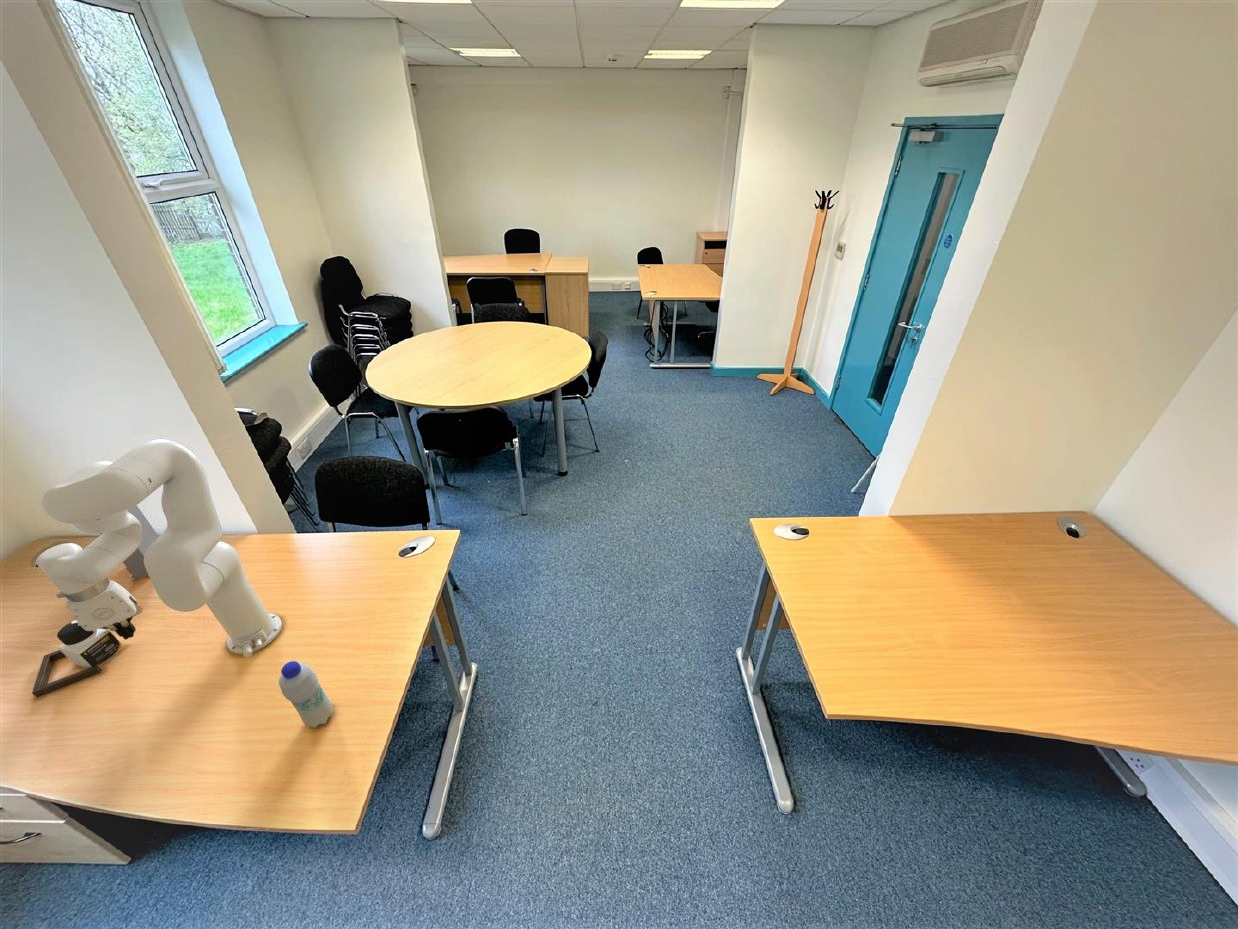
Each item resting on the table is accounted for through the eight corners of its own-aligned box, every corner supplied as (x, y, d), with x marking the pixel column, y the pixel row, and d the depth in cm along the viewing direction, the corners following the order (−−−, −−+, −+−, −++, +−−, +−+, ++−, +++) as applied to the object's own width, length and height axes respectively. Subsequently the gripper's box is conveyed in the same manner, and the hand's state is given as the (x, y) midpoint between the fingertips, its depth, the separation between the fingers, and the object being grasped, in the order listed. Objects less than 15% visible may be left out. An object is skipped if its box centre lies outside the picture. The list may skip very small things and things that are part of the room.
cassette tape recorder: (144, 553, 160) (98, 493, 146) (167, 547, 162) (124, 487, 148) (133, 581, 149) (83, 519, 136) (157, 574, 152) (111, 512, 138)
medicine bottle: (96, 670, 124) (66, 641, 117) (74, 665, 125) (44, 636, 119) (125, 647, 130) (98, 618, 123) (104, 642, 131) (76, 613, 124)
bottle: (328, 697, 118) (298, 647, 107) (341, 714, 114) (311, 664, 103) (299, 718, 113) (264, 668, 102) (312, 737, 110) (277, 687, 99)
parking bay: (101, 672, 123) (96, 667, 122) (37, 698, 118) (31, 693, 117) (108, 637, 132) (104, 633, 131) (48, 660, 126) (43, 655, 125)
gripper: (42, 611, 113) (90, 659, 123) (125, 583, 120) (164, 631, 130) (49, 591, 118) (95, 638, 128) (129, 566, 125) (166, 612, 135)
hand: (130, 634), depth 129 cm, fingers closed
